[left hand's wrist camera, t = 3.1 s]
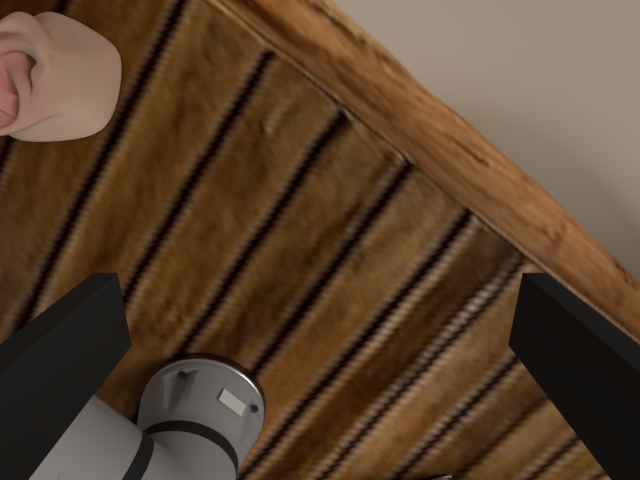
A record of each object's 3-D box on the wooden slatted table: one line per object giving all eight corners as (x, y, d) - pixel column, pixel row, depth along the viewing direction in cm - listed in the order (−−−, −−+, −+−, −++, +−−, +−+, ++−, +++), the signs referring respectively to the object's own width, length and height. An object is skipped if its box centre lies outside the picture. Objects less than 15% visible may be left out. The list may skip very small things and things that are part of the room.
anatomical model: (93, 8, 31) (109, 154, 35) (118, 18, 34) (129, 149, 38) (-78, -7, 30) (-42, 142, 34) (-34, 4, 34) (-7, 138, 38)
